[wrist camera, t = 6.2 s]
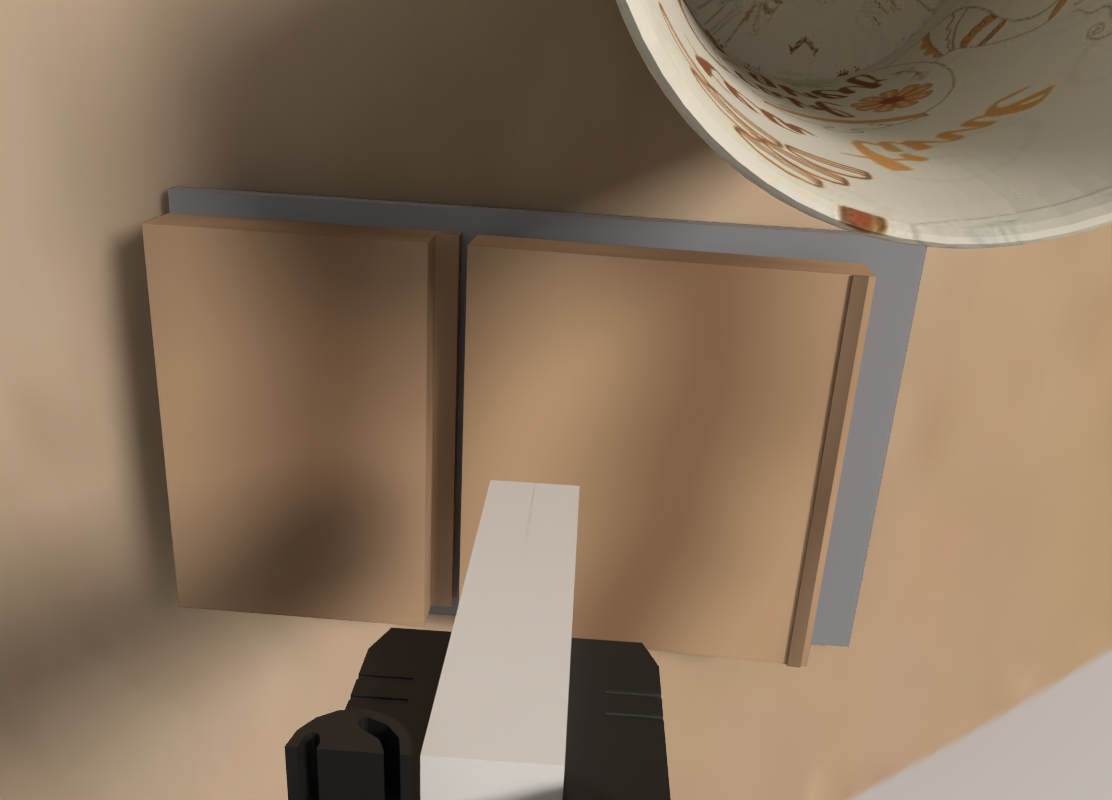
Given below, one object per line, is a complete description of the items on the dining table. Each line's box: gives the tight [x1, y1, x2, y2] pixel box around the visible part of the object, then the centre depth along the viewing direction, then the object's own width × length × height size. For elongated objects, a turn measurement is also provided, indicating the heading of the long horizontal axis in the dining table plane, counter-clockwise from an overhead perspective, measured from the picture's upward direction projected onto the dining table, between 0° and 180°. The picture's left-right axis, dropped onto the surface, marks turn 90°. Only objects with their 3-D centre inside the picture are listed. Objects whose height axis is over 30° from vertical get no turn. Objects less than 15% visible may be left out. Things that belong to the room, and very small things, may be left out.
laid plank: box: [142, 213, 462, 626], centre depth 21 cm, size 6×9×1 cm
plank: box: [459, 234, 876, 667], centre depth 21 cm, size 8×9×1 cm
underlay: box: [168, 187, 927, 647], centre depth 22 cm, size 16×10×1 cm, turn 87°
